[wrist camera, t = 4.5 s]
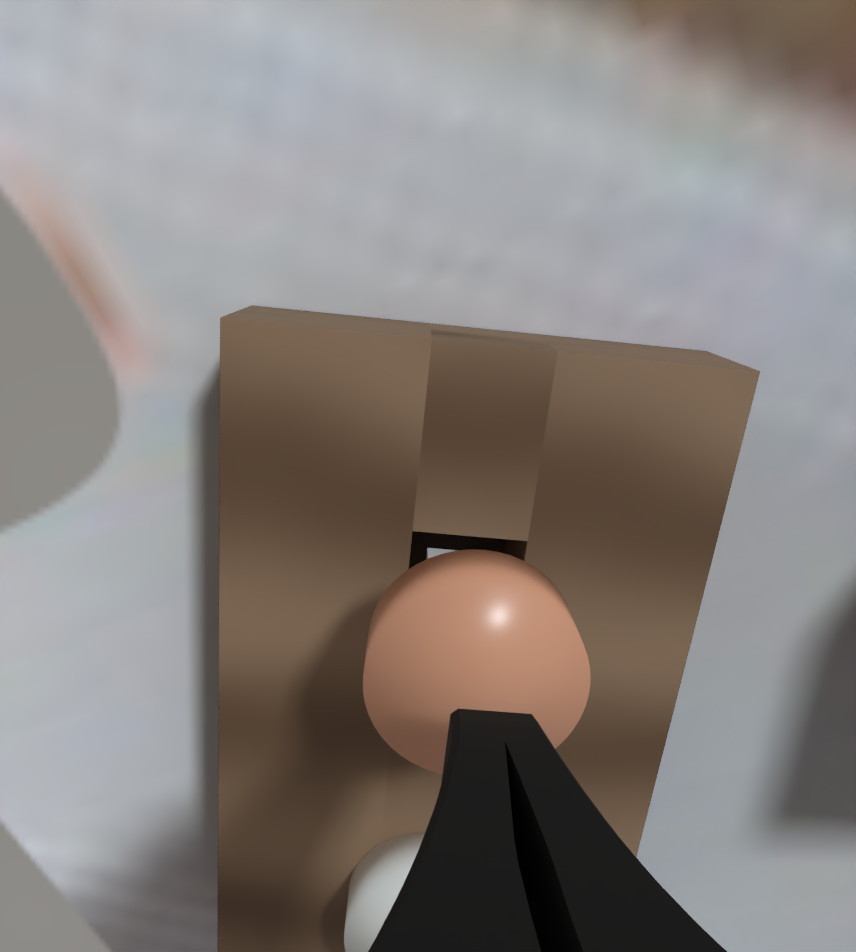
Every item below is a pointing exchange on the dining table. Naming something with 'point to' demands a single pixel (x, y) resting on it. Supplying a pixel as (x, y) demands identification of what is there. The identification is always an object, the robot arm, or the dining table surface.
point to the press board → (388, 554)
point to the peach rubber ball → (471, 651)
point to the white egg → (377, 889)
